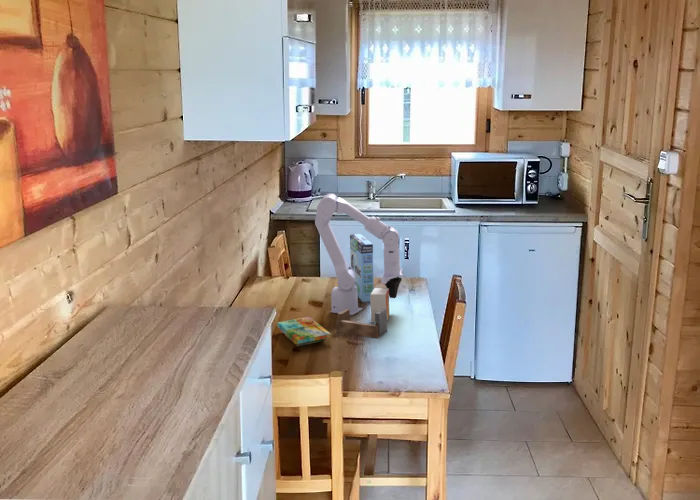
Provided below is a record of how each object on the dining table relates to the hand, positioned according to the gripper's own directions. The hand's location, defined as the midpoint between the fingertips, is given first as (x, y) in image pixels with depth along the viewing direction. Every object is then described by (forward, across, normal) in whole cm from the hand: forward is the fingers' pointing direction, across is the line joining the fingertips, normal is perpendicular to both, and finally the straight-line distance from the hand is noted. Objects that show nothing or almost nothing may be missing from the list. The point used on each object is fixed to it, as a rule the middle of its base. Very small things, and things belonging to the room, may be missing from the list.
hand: (392, 297), depth 258 cm
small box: (+5, -10, 0) cm, 11 cm away
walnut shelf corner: (+5, -23, 0) cm, 24 cm away
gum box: (+5, +13, +20) cm, 24 cm away
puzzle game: (+6, -37, +15) cm, 40 cm away
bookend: (+5, -23, -7) cm, 25 cm away
